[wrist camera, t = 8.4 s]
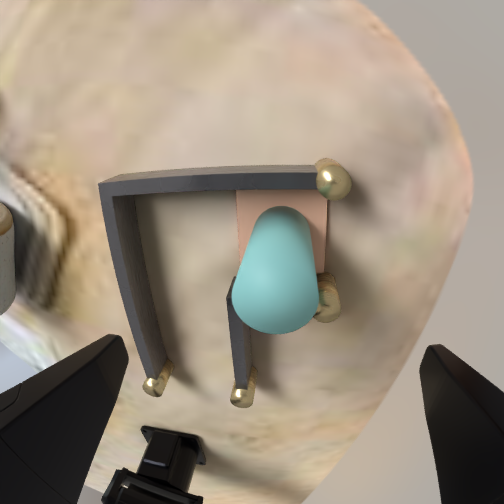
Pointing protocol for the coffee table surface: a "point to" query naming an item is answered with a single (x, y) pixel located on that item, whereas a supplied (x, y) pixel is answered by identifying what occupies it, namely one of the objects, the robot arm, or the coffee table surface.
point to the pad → (302, 200)
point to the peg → (277, 274)
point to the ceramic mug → (6, 259)
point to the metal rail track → (140, 299)
